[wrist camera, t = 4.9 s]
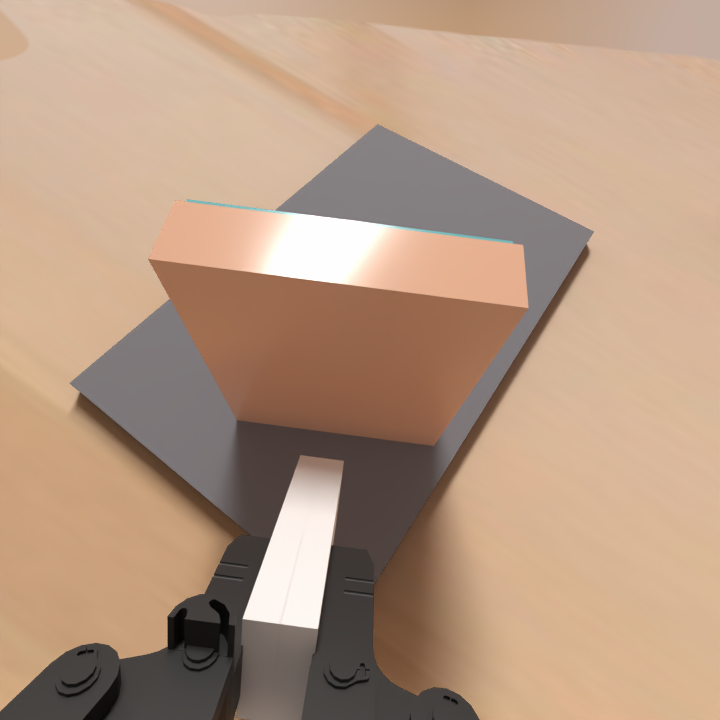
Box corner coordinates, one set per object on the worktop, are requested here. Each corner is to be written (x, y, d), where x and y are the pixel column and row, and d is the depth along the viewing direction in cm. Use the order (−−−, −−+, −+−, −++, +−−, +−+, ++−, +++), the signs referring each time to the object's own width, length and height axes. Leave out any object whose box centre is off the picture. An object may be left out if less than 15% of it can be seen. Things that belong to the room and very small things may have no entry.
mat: (79, 391, 23) (69, 383, 22) (376, 136, 35) (377, 124, 34) (350, 618, 19) (351, 620, 18) (586, 242, 31) (593, 231, 30)
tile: (433, 445, 22) (528, 308, 11) (236, 420, 22) (148, 258, 11) (435, 400, 23) (522, 237, 12) (248, 375, 23) (178, 193, 13)
